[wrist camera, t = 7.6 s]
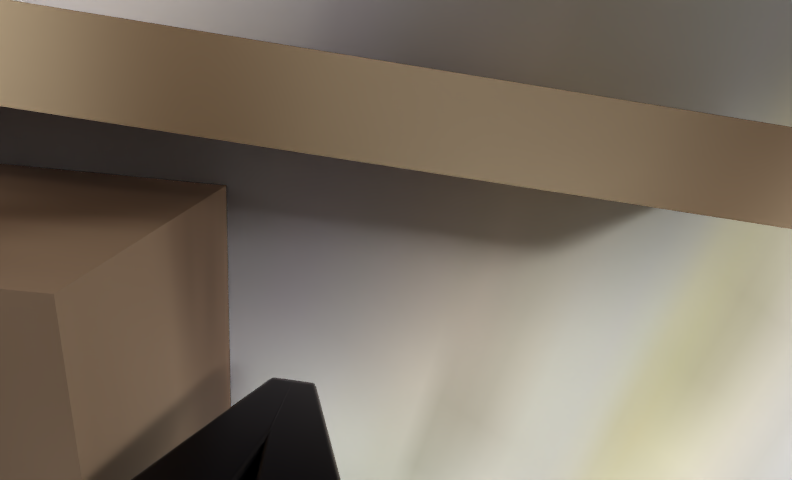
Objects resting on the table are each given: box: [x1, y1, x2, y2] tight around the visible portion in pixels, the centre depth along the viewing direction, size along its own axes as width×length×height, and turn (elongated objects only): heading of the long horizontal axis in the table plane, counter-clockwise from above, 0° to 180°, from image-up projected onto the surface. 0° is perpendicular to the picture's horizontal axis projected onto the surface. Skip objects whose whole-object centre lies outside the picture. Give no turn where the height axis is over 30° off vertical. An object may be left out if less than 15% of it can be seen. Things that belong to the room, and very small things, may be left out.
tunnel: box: [0, 0, 792, 229], centre depth 8 cm, size 16×11×3 cm
